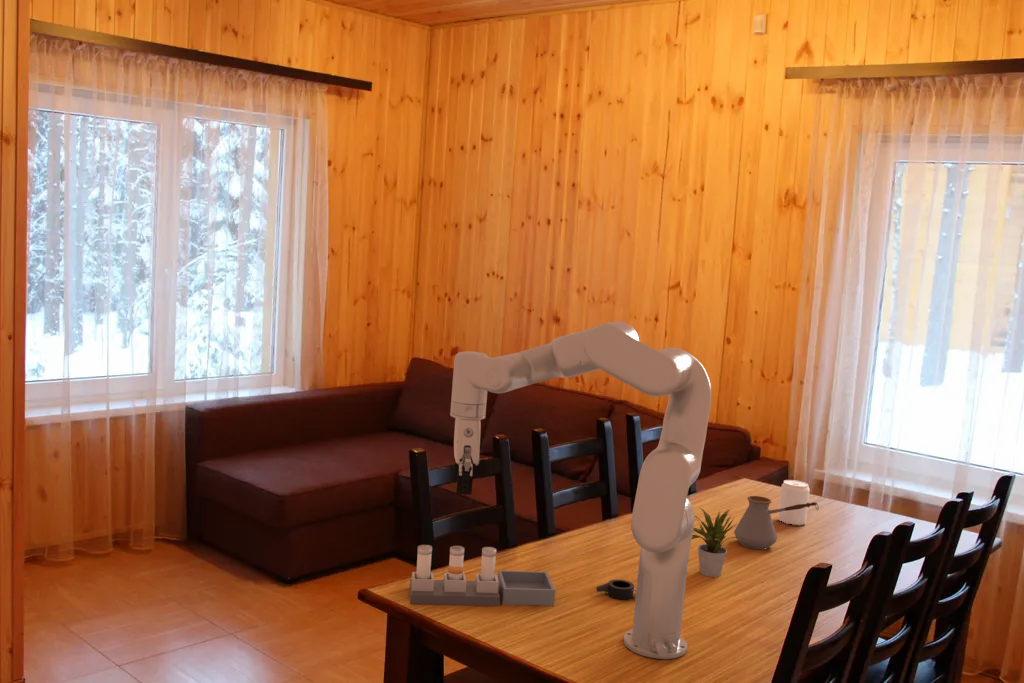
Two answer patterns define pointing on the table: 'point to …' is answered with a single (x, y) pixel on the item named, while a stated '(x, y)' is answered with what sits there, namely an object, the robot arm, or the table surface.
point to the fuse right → (488, 564)
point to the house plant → (712, 544)
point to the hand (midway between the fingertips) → (462, 487)
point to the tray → (525, 588)
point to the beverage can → (793, 502)
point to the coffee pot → (760, 523)
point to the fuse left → (423, 562)
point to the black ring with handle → (618, 589)
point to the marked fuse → (456, 563)
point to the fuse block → (454, 591)
